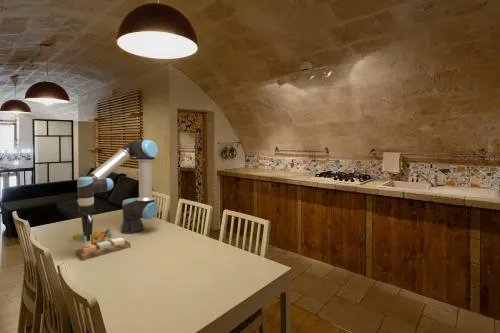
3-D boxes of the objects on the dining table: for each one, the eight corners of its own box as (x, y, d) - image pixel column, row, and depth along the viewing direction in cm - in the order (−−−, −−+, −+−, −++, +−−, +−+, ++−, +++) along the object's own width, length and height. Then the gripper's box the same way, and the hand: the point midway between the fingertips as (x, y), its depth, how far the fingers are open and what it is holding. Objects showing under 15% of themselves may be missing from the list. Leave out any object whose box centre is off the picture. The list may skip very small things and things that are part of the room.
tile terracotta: (92, 248, 163) (92, 244, 163) (96, 250, 159) (96, 246, 159) (81, 251, 159) (80, 246, 159) (84, 254, 155) (84, 249, 155)
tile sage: (107, 244, 169) (107, 240, 169) (111, 247, 165) (111, 243, 165) (96, 247, 165) (96, 243, 164) (100, 249, 161) (100, 245, 160)
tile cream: (120, 240, 175) (120, 237, 175) (124, 243, 171) (124, 239, 170) (110, 243, 170) (110, 239, 170) (114, 246, 166) (114, 242, 166)
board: (122, 242, 178) (122, 238, 178) (130, 247, 170) (130, 243, 170) (75, 254, 160) (75, 250, 159) (82, 260, 151) (82, 255, 151)
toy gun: (95, 239, 166) (110, 225, 179) (57, 243, 171) (75, 229, 185) (101, 251, 169) (115, 236, 182) (63, 254, 174) (80, 239, 188)
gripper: (75, 204, 158) (77, 244, 160) (82, 207, 149) (84, 250, 151) (89, 202, 164) (91, 241, 166) (97, 205, 155) (99, 247, 157)
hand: (88, 246), depth 158 cm, fingers closed
